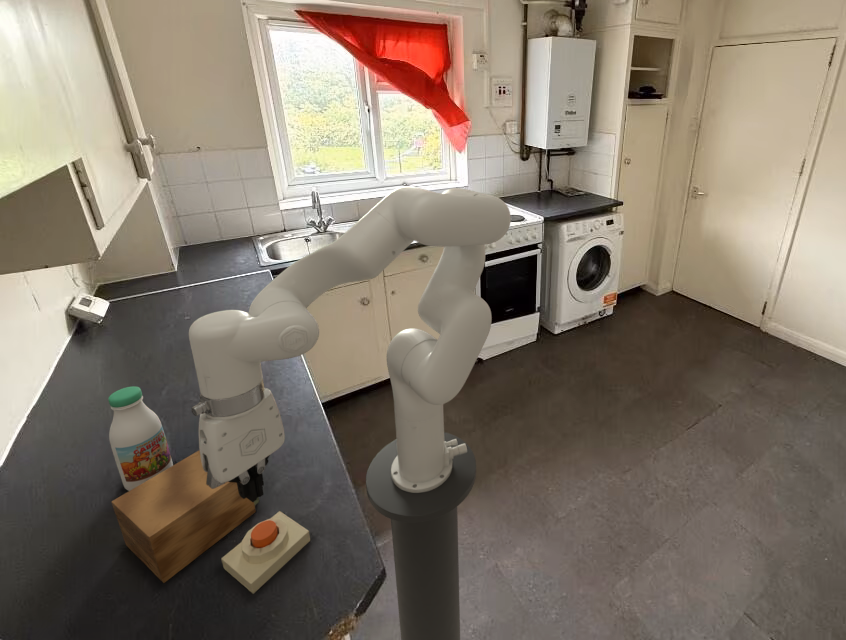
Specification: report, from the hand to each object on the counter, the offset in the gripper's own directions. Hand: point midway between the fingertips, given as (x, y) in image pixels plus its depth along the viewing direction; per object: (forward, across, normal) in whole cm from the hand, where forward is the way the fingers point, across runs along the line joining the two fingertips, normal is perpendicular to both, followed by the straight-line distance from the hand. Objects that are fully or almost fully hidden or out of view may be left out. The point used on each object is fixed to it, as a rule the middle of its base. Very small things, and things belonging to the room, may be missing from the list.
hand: (252, 494), depth 66 cm
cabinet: (+13, -3, +16) cm, 21 cm away
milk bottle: (+13, -1, +35) cm, 38 cm away
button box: (+13, +1, 0) cm, 13 cm away
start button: (+9, +1, 0) cm, 9 cm away
